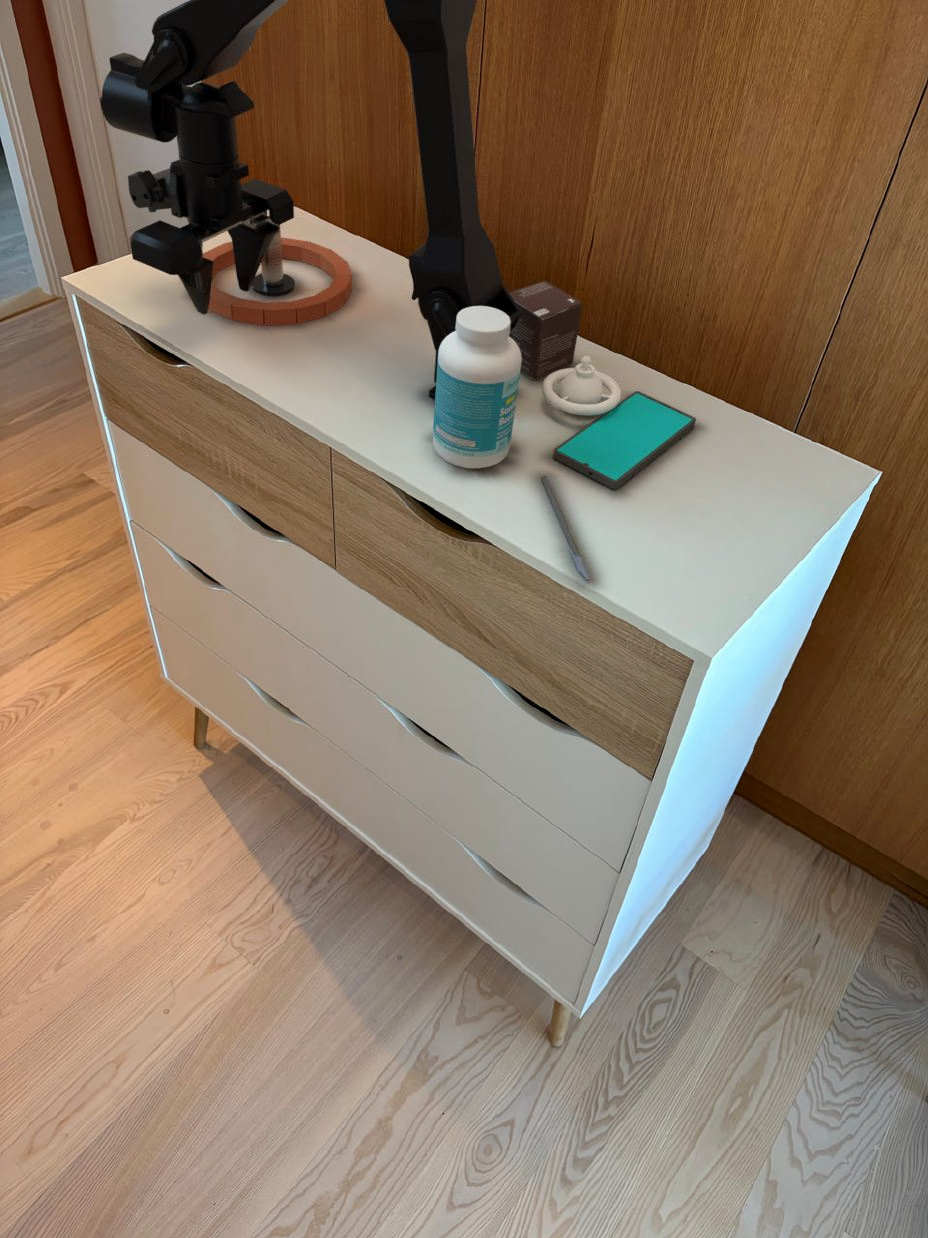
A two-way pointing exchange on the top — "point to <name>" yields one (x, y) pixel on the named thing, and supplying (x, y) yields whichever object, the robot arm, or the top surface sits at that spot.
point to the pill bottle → (476, 389)
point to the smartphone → (624, 439)
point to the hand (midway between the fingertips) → (223, 301)
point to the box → (545, 328)
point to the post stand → (273, 271)
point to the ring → (286, 310)
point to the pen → (566, 530)
